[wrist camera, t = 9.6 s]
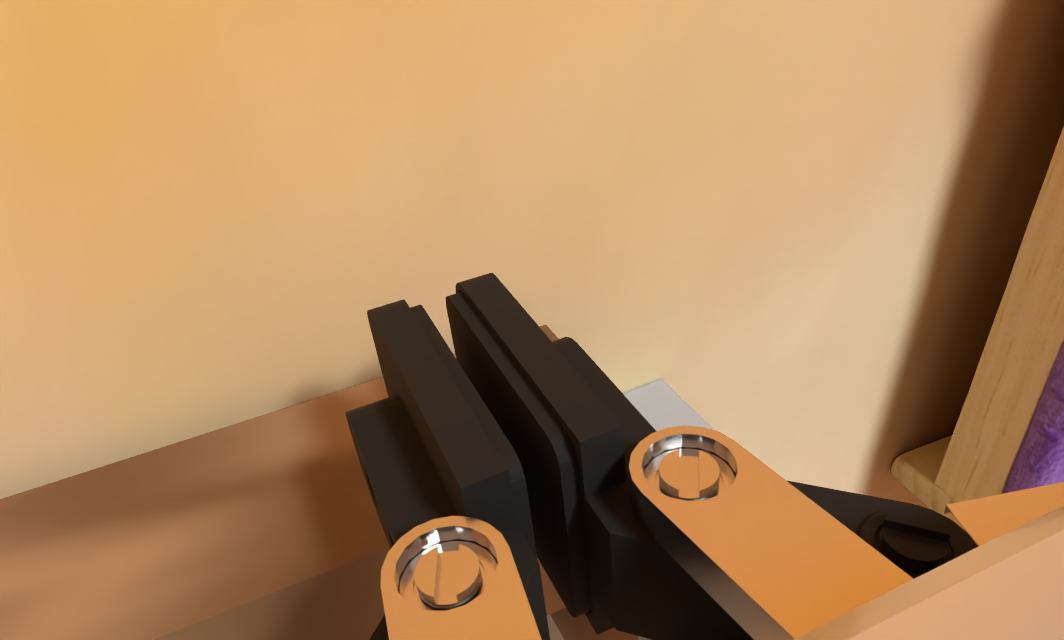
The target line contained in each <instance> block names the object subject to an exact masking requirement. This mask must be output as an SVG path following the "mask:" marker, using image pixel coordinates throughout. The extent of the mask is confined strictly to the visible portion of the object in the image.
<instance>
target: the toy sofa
mask: <svg viewBox="0 0 1064 640" xmlns="http://www.w3.org/2000/svg"><path fill="white" fill-rule="evenodd" d="M891 473H892V475H893V476H894V478H895V479H896V480H897V481H898V482H899V483H900V484H901V485H902V486H904V487H905V488H906V489H907V490H908V491H910V492H911V493H912V494H913V495H914V496H916V497H917V498H918V499H919V500H920V501H922V502H923V503H924V504H925V505H926V506H928V507H929V508H930V509H931V510H934V511H936V512H938V513H940V514H944V511H945V507H946V505H947V504H952V503H957V502H962V501H968V500H973V499H978V498H983V497H988V496H993V495H999V494H1004V493H1009V492H1014V491H1019V490H1024V489H1030V488H1035V487H1040V486H1045V485H1050V484H1055V483H1061V482H1064V127H1063V130H1062V132H1061V135H1060V138H1059V140H1058V143H1057V146H1056V149H1055V151H1054V154H1053V157H1052V160H1051V163H1050V165H1049V168H1048V171H1047V174H1046V177H1045V179H1044V182H1043V185H1042V188H1041V191H1040V193H1039V196H1038V199H1037V201H1036V204H1035V207H1034V210H1033V212H1032V215H1031V218H1030V221H1029V223H1028V226H1027V229H1026V232H1025V234H1024V237H1023V240H1022V243H1021V246H1020V249H1019V252H1018V255H1017V258H1016V260H1015V263H1014V266H1013V269H1012V272H1011V275H1010V278H1009V281H1008V284H1007V287H1006V289H1005V292H1004V295H1003V298H1002V300H1001V303H1000V306H999V309H998V311H997V314H996V317H995V320H994V323H993V325H992V328H991V331H990V334H989V336H988V339H987V342H986V345H985V347H984V350H983V353H982V356H981V358H980V361H979V364H978V367H977V370H976V373H975V376H974V378H973V381H972V384H971V387H970V390H969V392H968V395H967V398H966V400H965V403H964V405H963V408H962V411H961V413H960V416H959V419H958V421H957V424H956V427H955V429H954V432H953V435H951V436H948V437H945V438H943V439H940V440H937V441H935V442H932V443H929V444H927V445H924V446H921V447H919V448H916V449H914V450H911V451H909V452H906V453H904V454H902V455H900V456H898V457H897V458H896V459H895V460H894V462H893V464H892V467H891Z"/></svg>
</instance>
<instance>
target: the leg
mask: <svg viewBox="0 0 1064 640" xmlns="http://www.w3.org/2000/svg"><path fill="white" fill-rule="evenodd" d="M540 328H541V330H542V331H543V332H544V333H545V334H546V335H547V337H548V338H549V339H550V340H551V341H552V342H553V341H556V340H559V339H558V338H557V337H556V335H555V334H554V333H553V332H552V331H551V330H550V329H549V328H548V327H547V325H543V326H540ZM453 355H454V356H455V358H456V354H453ZM385 398H388V394H387V390H386V386H385V382H384V378H383V377H381V378H378V379H375V380H372V381H369V382H365V383H362V384H359V385H356V386H353V387H350V388H347V389H344V390H340V391H337V392H334V393H331V394H328V395H325V396H322V397H319V398H316V399H312V400H309V401H306V402H303V403H300V404H297V405H294V406H291V407H287V408H284V409H281V410H278V411H275V412H272V413H269V414H266V415H262V416H259V417H256V418H253V419H250V420H247V421H244V422H241V423H238V424H234V425H231V426H228V427H225V428H222V429H219V430H216V431H213V432H209V433H206V434H203V435H200V436H197V437H194V438H191V439H188V440H184V441H181V442H178V443H175V444H172V445H169V446H166V447H163V448H160V449H156V450H153V451H150V452H147V453H144V454H141V455H138V456H135V457H131V458H128V459H125V460H122V461H119V462H116V463H113V464H110V465H106V466H103V467H100V468H97V469H94V470H91V471H88V472H85V473H82V474H78V475H75V476H72V477H69V478H66V479H63V480H60V481H57V482H53V483H50V484H47V485H44V486H41V487H38V488H35V489H32V490H28V491H25V492H22V493H19V494H16V495H13V496H10V497H7V498H4V499H0V640H369V639H370V638H371V636H372V634H373V633H374V631H375V629H376V628H377V626H378V625H379V623H380V621H381V620H382V618H383V616H384V615H385V611H384V605H383V598H382V592H381V568H382V566H383V563H384V561H385V558H386V556H387V554H388V552H389V551H390V546H389V543H388V541H387V538H386V535H385V533H384V530H383V527H382V525H381V522H380V519H379V517H378V514H377V511H376V509H375V506H374V503H373V500H372V497H371V495H370V492H369V489H368V486H367V483H366V480H365V477H364V474H363V471H362V468H361V465H360V462H359V458H358V455H357V452H356V449H355V445H354V442H353V439H352V435H351V432H350V429H349V425H348V422H347V418H346V414H345V412H347V411H350V410H353V409H356V408H359V407H362V406H365V405H368V404H371V403H374V402H377V401H379V400H382V399H385ZM537 560H538V558H537ZM538 562H539V565H540V572H541V579H542V586H543V593H544V600H545V607H546V614H547V616H548V615H550V614H552V613H554V612H557V611H559V610H561V609H563V608H565V605H564V603H563V601H562V600H561V598H560V596H559V594H558V593H557V591H556V589H555V587H554V586H553V584H552V582H551V581H550V579H549V577H548V575H547V574H546V572H545V570H544V568H543V567H542V565H541V563H540V561H539V560H538Z"/></svg>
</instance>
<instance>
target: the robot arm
mask: <svg viewBox="0 0 1064 640" xmlns="http://www.w3.org/2000/svg"><path fill="white" fill-rule="evenodd" d="M446 307H447V312H448V317H449V323H450V328H451V333H452V338H453V344H454V349H455V354H456V358H455V356H454V355H453V353H452V352H451V350H450V348H449V347H448V345H447V344H446V342H445V341H444V339H443V338H442V336H441V334H440V333H439V331H438V330H437V328H436V327H435V325H434V323H433V322H432V320H431V319H430V317H429V316H428V314H427V313H426V311H425V309H424V308H423V306H422V305H418V306H414V307H411V308H409V306H408V304H407V303H406V301H405V300H400V301H397V302H394V303H391V304H387V305H384V306H381V307H378V308H374V309H371V310H368V311H367V314H368V319H369V324H370V328H371V332H372V335H373V339H374V343H375V347H376V351H377V355H378V359H379V363H380V366H381V370H382V374H383V378H384V382H385V386H386V390H387V394H388V398H385V399H382V400H379V401H377V402H374V403H371V404H368V405H365V406H362V407H359V408H356V409H353V410H350V411H347V412H345V414H346V418H347V422H348V425H349V429H350V432H351V435H352V439H353V442H354V445H355V449H356V452H357V455H358V458H359V462H360V465H361V468H362V471H363V474H364V477H365V480H366V483H367V486H368V489H369V492H370V495H371V497H372V500H373V503H374V506H375V509H376V511H377V514H378V517H379V519H380V522H381V525H382V527H383V530H384V533H385V535H386V538H387V541H388V543H389V546H390V551H389V552H388V554H387V556H386V558H385V561H384V563H383V566H382V568H381V592H382V598H383V605H384V611H385V615H384V616H383V618H382V620H381V621H380V623H379V625H378V626H377V628H376V629H375V631H374V633H373V634H372V636H371V638H370V639H369V640H550V635H549V628H548V621H547V614H546V607H545V600H544V593H543V586H542V579H541V572H540V565H539V562H538V560H539V561H540V563H541V565H542V567H543V568H544V570H545V572H546V574H547V575H548V577H549V579H550V581H551V582H552V584H553V586H554V587H555V589H556V591H557V593H558V594H559V596H560V598H561V600H562V601H563V603H564V605H565V607H566V608H567V610H568V612H569V613H570V614H571V616H572V617H574V618H575V617H578V616H580V615H582V614H585V615H586V617H587V619H588V620H589V622H590V624H591V625H592V627H593V629H594V630H595V632H596V634H597V635H598V634H601V633H603V632H605V631H607V630H609V629H611V628H613V627H615V629H616V630H618V631H621V632H625V633H629V634H633V635H636V636H637V637H638V640H1064V482H1061V483H1055V484H1050V485H1045V486H1040V487H1035V488H1030V489H1024V490H1019V491H1014V492H1009V493H1004V494H999V495H993V496H988V497H983V498H978V499H973V500H968V501H962V502H957V503H952V504H947V505H946V507H945V511H944V514H940V513H938V512H936V511H934V510H931V509H928V508H924V507H921V506H917V505H914V504H909V503H904V502H899V501H893V500H888V499H882V498H877V497H872V496H866V495H861V494H856V493H850V492H845V491H839V490H834V489H829V488H823V487H818V486H813V485H807V484H802V483H796V482H791V481H786V480H785V479H783V478H782V477H781V476H779V475H778V474H777V473H776V472H774V471H773V470H772V469H770V468H769V467H768V466H766V465H765V464H764V463H763V462H761V461H760V460H759V459H757V458H756V457H755V456H753V455H752V454H751V453H750V452H748V451H747V450H746V449H744V448H743V447H742V446H740V445H739V444H738V443H737V442H735V441H734V440H732V439H731V438H729V437H727V436H725V435H724V434H722V433H720V432H717V431H714V430H711V429H707V428H704V427H696V426H676V427H669V428H665V429H662V430H659V431H656V430H655V429H654V428H653V427H652V426H651V424H650V423H649V422H648V421H647V420H646V419H645V418H644V417H643V416H642V414H641V413H640V412H639V411H638V410H637V409H636V408H635V407H634V406H633V405H632V403H631V402H630V401H629V400H628V399H627V398H626V397H625V396H624V395H623V393H622V392H621V391H620V390H619V389H618V388H617V387H616V386H615V385H614V383H613V382H612V381H611V380H610V379H609V378H608V377H607V376H606V375H605V373H604V372H603V371H602V370H601V369H600V368H599V367H598V366H597V365H596V364H595V362H594V361H593V360H592V359H591V358H590V357H589V356H588V355H587V354H586V352H585V351H584V350H583V349H582V348H581V347H580V346H579V345H578V344H577V343H576V342H575V341H574V340H573V339H572V338H569V337H564V338H562V339H559V340H556V341H553V342H552V341H551V340H550V339H549V338H548V337H547V335H546V334H545V333H544V332H543V331H542V330H541V328H540V327H539V326H538V325H537V324H536V323H535V321H534V320H533V319H532V318H531V317H530V316H529V314H528V313H527V312H526V311H525V310H524V308H523V307H522V306H521V305H520V304H519V303H518V301H517V300H516V299H515V298H514V297H513V296H512V294H511V293H510V292H509V291H508V290H507V289H506V287H505V286H504V285H503V284H502V283H501V282H500V280H499V279H498V278H497V277H496V276H495V275H494V274H493V273H489V274H486V275H482V276H479V277H476V278H473V279H469V280H466V281H463V282H460V283H457V284H456V294H453V295H450V296H447V297H446ZM537 558H538V560H537Z"/></svg>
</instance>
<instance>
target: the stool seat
mask: <svg viewBox="0 0 1064 640" xmlns="http://www.w3.org/2000/svg"><path fill="white" fill-rule="evenodd" d="M623 395H624V396H625V397H626V398H627V399H628V400H629V401H630V402H631V403H632V405H633V406H634V407H635V408H636V409H637V410H638V411H639V412H640V413H641V414H642V416H643V417H644V418H645V419H646V420H647V421H648V422H649V423H650V424H651V426H652V427H653V428H654V429H655V430H656V431H659V430H662V429H665V428H669V427H676V426H696V427H704V428H707V429H711V430H712V427H711V426H710V425H709V424H708V423H707V422H706V421H705V420H704V419H703V418H702V417H701V416H700V415H699V414H698V413H697V412H696V411H695V410H694V409H693V408H692V407H691V406H690V405H689V404H687V403H686V402H685V401H684V400H683V399H682V398H681V397H680V396H679V395H678V394H677V393H676V392H675V391H674V390H673V389H672V388H671V387H670V386H669V385H668V384H667V383H666V382H665V381H664V380H663V379H660V380H658V381H655V382H653V383H650V384H648V385H645V386H643V387H640V388H638V389H635V390H633V391H630V392H627V393H625V394H623ZM547 621H548V628H549V635H550V640H638V637H637V636H636V635H633V634H629V633H625V632H621V631H618V630H616V629H615V627H613V628H611V629H609V630H607V631H605V632H603V633H601V634H598V635H597V634H596V632H595V630H594V629H593V627H592V625H591V624H590V622H589V620H588V619H587V617H586V615H585V614H582V615H580V616H578V617H575V618H574V617H572V616H571V614H570V613H569V612H568V610H567V608H566V607H565V608H563V609H561V610H559V611H557V612H554V613H552V614H550V615H548V616H547Z"/></svg>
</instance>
